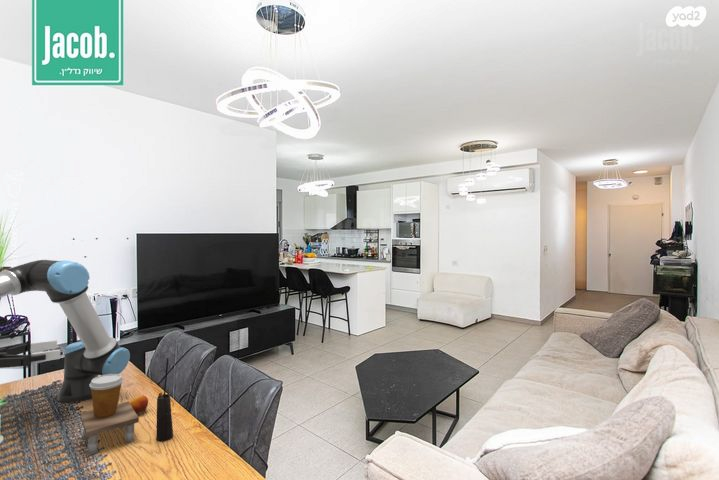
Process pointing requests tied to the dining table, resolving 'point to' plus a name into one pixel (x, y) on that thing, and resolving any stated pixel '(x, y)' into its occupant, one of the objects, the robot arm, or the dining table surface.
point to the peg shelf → (108, 424)
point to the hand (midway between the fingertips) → (58, 348)
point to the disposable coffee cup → (105, 394)
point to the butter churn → (164, 415)
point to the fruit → (139, 403)
